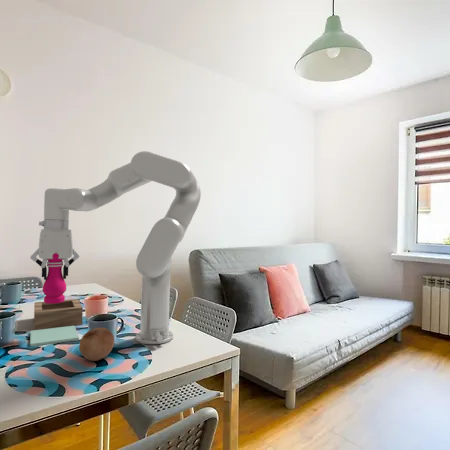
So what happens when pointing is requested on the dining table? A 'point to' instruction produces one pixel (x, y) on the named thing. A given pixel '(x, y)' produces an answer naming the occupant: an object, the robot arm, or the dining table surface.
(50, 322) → the box
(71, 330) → the green mat
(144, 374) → the dining table surface
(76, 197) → the robot arm
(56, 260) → the pepper mill
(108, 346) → the brown oval lump
